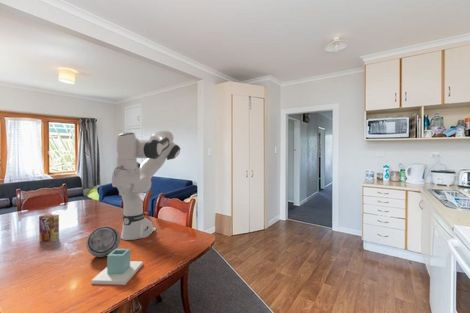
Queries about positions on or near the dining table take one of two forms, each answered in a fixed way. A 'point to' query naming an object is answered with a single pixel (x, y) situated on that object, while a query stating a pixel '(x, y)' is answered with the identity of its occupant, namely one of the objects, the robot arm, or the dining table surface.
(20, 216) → the dining table surface
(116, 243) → the decorative orb
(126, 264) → the teal square hollow box
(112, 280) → the board
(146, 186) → the robot arm
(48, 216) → the candy box
